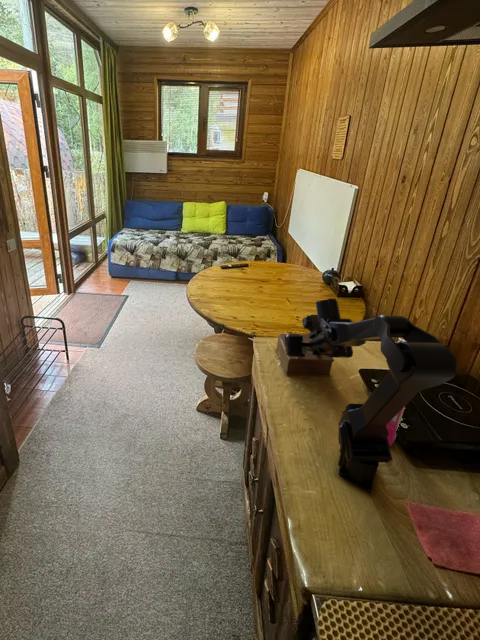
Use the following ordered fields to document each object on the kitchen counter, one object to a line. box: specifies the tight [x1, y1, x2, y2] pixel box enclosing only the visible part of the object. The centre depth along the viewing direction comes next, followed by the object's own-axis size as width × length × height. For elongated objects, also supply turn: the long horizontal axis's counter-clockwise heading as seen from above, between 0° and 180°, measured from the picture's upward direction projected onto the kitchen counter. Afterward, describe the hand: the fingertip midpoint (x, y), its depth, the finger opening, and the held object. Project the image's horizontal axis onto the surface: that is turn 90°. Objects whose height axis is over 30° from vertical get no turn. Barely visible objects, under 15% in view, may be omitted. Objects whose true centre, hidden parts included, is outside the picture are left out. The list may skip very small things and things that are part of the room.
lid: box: [278, 333, 335, 363], centre depth 100 cm, size 13×14×4 cm
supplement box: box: [386, 405, 406, 448], centre depth 76 cm, size 6×6×12 cm
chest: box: [276, 335, 333, 377], centre depth 102 cm, size 13×14×6 cm
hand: (308, 350), depth 97 cm, fingers closed on lid, 6 cm apart
